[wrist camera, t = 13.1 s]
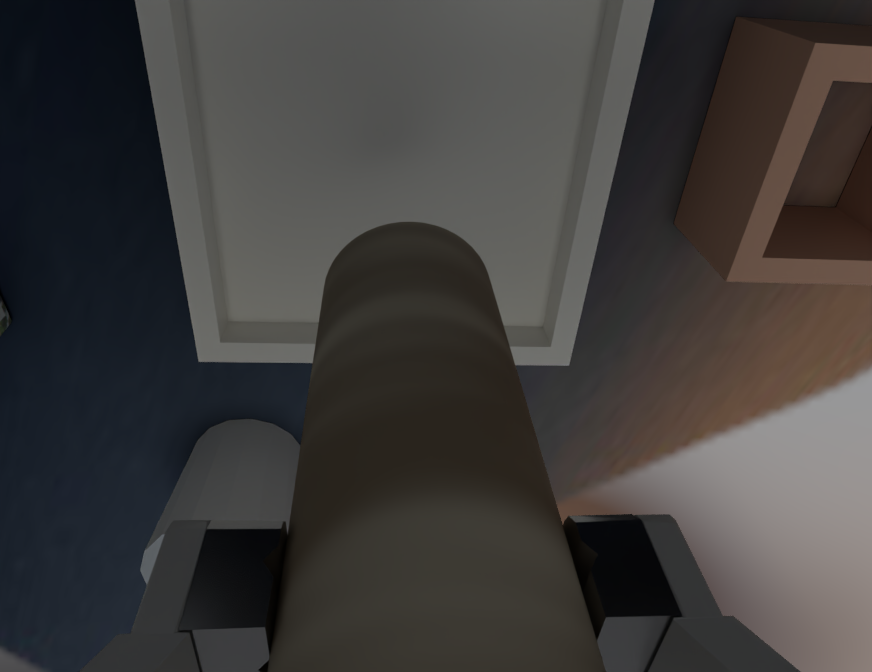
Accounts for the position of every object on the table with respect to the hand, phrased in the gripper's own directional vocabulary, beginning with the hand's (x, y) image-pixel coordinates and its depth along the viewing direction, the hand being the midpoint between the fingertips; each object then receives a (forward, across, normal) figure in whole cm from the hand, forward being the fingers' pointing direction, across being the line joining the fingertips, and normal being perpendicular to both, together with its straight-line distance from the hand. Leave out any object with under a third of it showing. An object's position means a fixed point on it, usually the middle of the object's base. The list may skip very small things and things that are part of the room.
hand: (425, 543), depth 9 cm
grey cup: (+19, +7, +17) cm, 26 cm away
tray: (+18, 0, 0) cm, 18 cm away
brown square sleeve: (+18, -16, -1) cm, 24 cm away
